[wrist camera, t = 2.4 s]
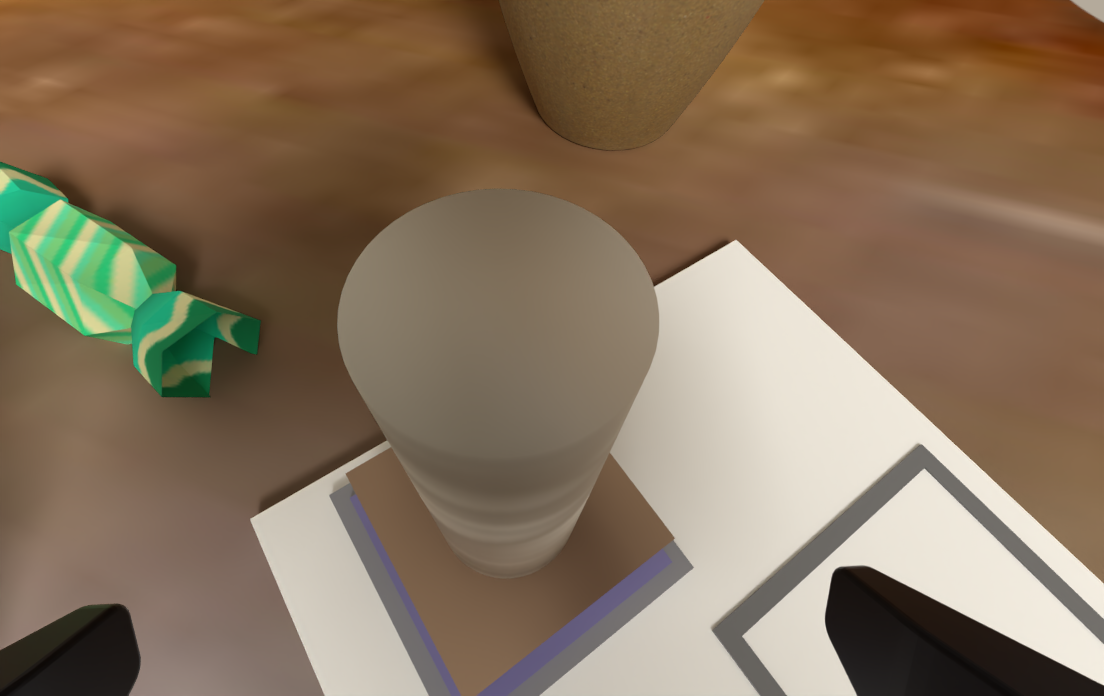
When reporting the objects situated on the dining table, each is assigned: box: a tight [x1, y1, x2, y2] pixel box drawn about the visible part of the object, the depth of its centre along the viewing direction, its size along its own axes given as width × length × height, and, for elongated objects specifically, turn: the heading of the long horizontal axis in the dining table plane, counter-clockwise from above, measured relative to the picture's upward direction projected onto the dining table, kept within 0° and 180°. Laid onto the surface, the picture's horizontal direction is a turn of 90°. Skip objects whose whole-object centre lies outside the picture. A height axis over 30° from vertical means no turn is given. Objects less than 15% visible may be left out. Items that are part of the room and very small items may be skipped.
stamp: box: [337, 189, 675, 696], centre depth 11 cm, size 6×6×12 cm
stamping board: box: [250, 240, 1104, 696], centre depth 16 cm, size 21×21×1 cm
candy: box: [0, 162, 261, 397], centre depth 19 cm, size 12×3×4 cm
